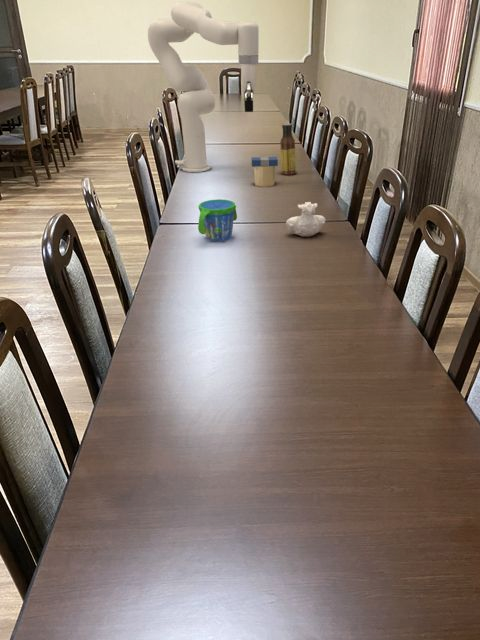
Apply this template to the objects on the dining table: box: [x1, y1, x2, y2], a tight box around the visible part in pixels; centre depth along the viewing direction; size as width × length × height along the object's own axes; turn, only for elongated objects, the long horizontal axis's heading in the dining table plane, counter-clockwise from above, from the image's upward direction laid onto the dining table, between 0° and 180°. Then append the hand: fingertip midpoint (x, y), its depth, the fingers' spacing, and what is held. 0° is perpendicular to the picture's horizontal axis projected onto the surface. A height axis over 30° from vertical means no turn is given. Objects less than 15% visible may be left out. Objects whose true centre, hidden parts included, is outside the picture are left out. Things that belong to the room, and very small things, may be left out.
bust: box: [285, 201, 326, 238], centre depth 158 cm, size 12×8×11 cm
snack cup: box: [197, 198, 238, 242], centre depth 157 cm, size 16×10×10 cm
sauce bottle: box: [279, 123, 297, 176], centre depth 225 cm, size 7×6×20 cm
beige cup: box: [253, 166, 276, 188], centre depth 213 cm, size 8×8×8 cm
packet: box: [251, 156, 279, 168], centre depth 211 cm, size 10×6×2 cm, turn 93°
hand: (248, 109), depth 212 cm, fingers open, 9 cm apart
